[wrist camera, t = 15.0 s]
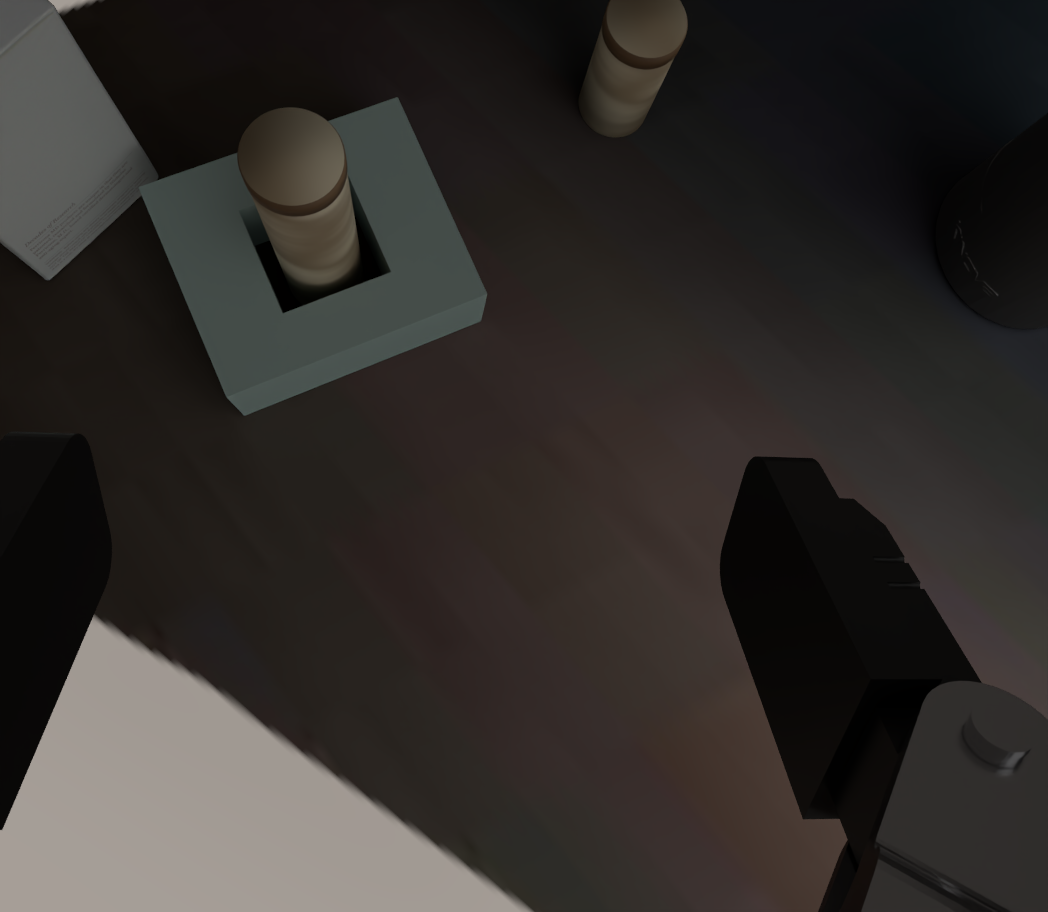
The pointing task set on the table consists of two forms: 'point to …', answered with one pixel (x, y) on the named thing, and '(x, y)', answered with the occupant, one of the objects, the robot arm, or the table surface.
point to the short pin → (630, 63)
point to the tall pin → (303, 200)
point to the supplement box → (58, 142)
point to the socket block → (339, 319)
